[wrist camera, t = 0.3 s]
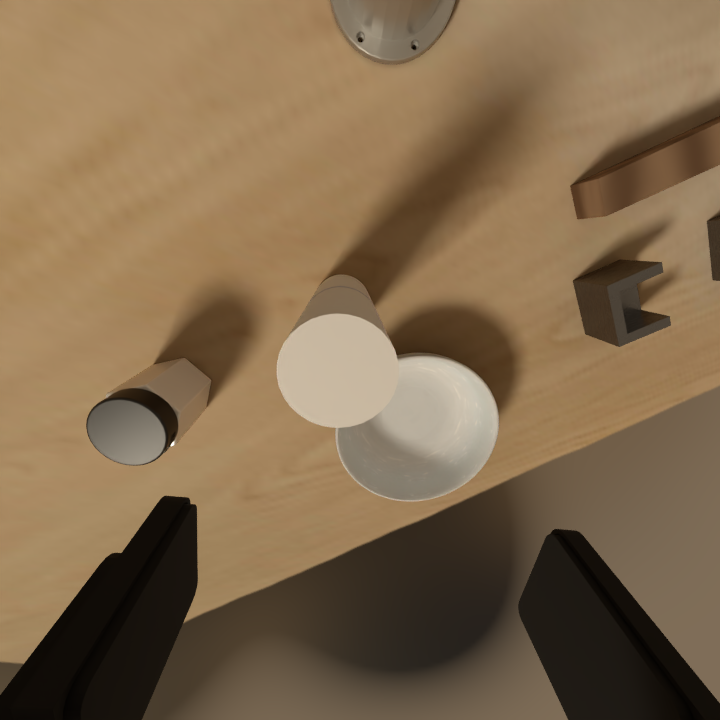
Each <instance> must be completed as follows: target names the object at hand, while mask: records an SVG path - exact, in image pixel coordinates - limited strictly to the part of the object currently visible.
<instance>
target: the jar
mask: <svg viewBox="0 0 720 720" xmlns="http://www.w3.org/2000/svg"><path fill="white" fill-rule="evenodd" d="M210 386H211V379H209V378H208V377H207V376H206V375H205V374H204V373H202V372H201V371H200V370H199V369H198V368H196V367H195V366H194V365H193V364H192V363H190V362H189V361H188V360H187V359H186V358H180V359H176V360H171V361H167V362H163V363H158V364H154V365H151V366H150V367H148V368H147V369H145V370H143V371H142V372H140V373H139V374H137V375H135V376H134V377H132V378H131V379H129V380H128V381H126V382H124V383H123V384H121V385H120V386H118V387H116V388H115V389H113V390H112V391H110V392H108V393H107V394H106V399H104V400H102V401H101V402H99V403H98V404H97V405H95V406H94V407H93V409H92V410H91V411H90V413H89V415H88V418H87V424H86V427H87V433H88V436H89V439H90V441H91V442H92V444H93V445H94V447H95V448H96V449H97V450H98V451H99V452H100V453H101V454H103V455H104V456H105V457H107V458H109V459H111V460H113V461H115V462H117V463H121V464H125V465H144V464H148V463H151V462H153V461H155V460H156V459H158V458H159V457H160V456H161V455H162V454H163V453H165V452H166V451H167V449H168V448H169V447H171V446H175V445H176V444H177V443H178V441H179V440H180V439H181V438H182V437H183V435H184V434H185V433H186V432H187V431H188V430H189V428H190V427H191V426H192V425H193V424H194V422H195V421H196V420H197V419H198V418H199V416H200V415H201V414H202V413H203V412H204V411H205V409H206V407H207V402H208V396H209V391H210Z"/></svg>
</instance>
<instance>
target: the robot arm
mask: <svg viewBox="0 0 720 720" xmlns="http://www.w3.org/2000/svg"><path fill="white" fill-rule="evenodd" d="M455 1H456V0H330V2H331V6H332V11H333V14H334V16H335V19H336V22H337V24H338V26H339V28H340V30H341V32H342V33H343V35H344V37H345V38H346V40H347V41H348V42H349V43H350V44H351V46H352V47H353V48H354V49H355V50H357V51H358V52H359V53H360V54H362V55H363V56H364V57H366V58H368V59H370V60H372V61H374V62H378V63H382V64H396V65H397V64H401V63H406V62H409V61H411V60H413V59H415V58H418V57H419V56H421V55H422V54H423V53H425V52H426V51H427V50H429V49H430V47H431V46H432V45H433V44H434V43H435V42H436V41H437V40H438V38H439V37H440V35H441V33H442V32H443V30H444V29H445V27H446V24H447V22H448V20H449V18H450V16H451V13H452V10H453V7H454V4H455ZM360 39H361V40H362V41H363V42H361V43H360V42H358V40H360ZM412 47H415V49H416V50H413V49H412ZM197 582H198V570H197V506H196V505H193V504H190V499H189V498H186V497H174V496H164V497H162V498H161V499H160V501H159V502H158V503H157V505H156V506H155V508H154V509H153V510H152V512H151V513H150V514H149V516H148V517H147V519H146V520H145V521H144V523H143V524H142V526H141V527H140V528H139V530H138V531H137V532H136V534H135V535H134V537H133V538H132V539H131V541H130V542H129V544H128V545H127V546H126V548H125V549H124V550H123V552H122V553H112V554H111V555H109V556H108V557H106V558H105V559H104V561H103V562H102V563H101V564H100V565H99V566H98V568H97V569H96V570H95V572H94V573H93V574H92V576H91V577H90V578H89V580H88V581H87V582H86V584H85V585H84V586H83V587H82V589H81V590H80V591H79V593H78V594H77V595H76V597H75V598H74V599H73V601H72V602H71V603H70V604H69V606H68V607H67V608H66V610H65V611H64V612H63V614H62V615H61V616H60V618H59V619H58V620H57V621H56V623H55V624H54V625H53V627H52V628H51V629H50V631H49V632H48V633H47V635H46V636H45V637H44V639H43V640H42V641H41V642H40V644H39V645H38V646H37V648H36V649H35V650H34V652H33V653H32V654H31V656H30V657H29V658H28V659H27V661H26V662H25V663H24V665H23V666H22V667H21V669H20V670H19V671H18V673H17V674H16V675H15V677H14V678H13V679H12V680H11V682H10V683H9V684H8V686H7V687H6V688H5V690H4V691H3V692H2V694H1V695H0V720H142V718H143V715H144V713H145V711H146V709H147V706H148V704H149V701H150V699H151V697H152V694H153V692H154V690H155V687H156V685H157V683H158V680H159V678H160V676H161V673H162V671H163V668H164V666H165V664H166V662H167V659H168V657H169V655H170V652H171V650H172V648H173V645H174V643H175V641H176V638H177V636H178V634H179V631H180V629H181V627H182V624H183V622H184V620H185V617H186V615H187V613H188V610H189V608H190V606H191V603H192V601H193V598H194V596H195V592H196V588H197ZM518 608H519V614H520V617H521V620H522V622H523V624H524V626H525V628H526V631H527V633H528V635H529V637H530V639H531V641H532V643H533V645H534V648H535V650H536V652H537V654H538V656H539V658H540V660H541V663H542V665H543V667H544V669H545V671H546V673H547V675H548V677H549V680H550V682H551V683H552V686H553V688H554V690H555V692H556V695H557V696H558V699H559V701H560V703H561V705H562V707H563V709H564V712H565V713H566V716H567V718H568V720H720V703H719V702H718V701H717V699H716V698H715V697H714V696H713V695H712V693H711V692H710V691H709V690H708V688H707V687H706V686H705V685H704V683H703V682H702V681H701V680H700V679H699V677H698V676H697V675H696V674H695V672H694V671H693V670H692V669H691V668H690V666H689V665H688V664H687V663H686V661H685V660H684V659H683V658H682V657H681V655H680V654H679V653H678V652H677V650H676V649H675V648H674V647H673V646H672V644H671V643H670V642H669V641H668V639H667V638H666V637H665V636H664V634H663V633H662V632H661V631H660V629H659V628H658V627H657V626H656V625H655V623H654V622H653V621H652V620H651V618H650V617H649V616H648V615H647V614H646V612H645V611H644V610H643V609H642V608H641V606H640V605H639V604H638V603H637V601H636V600H635V599H634V598H633V596H632V595H631V594H630V593H629V592H628V590H627V589H626V588H625V587H624V586H623V584H622V583H621V582H620V580H619V579H618V578H617V577H616V575H614V573H613V572H612V571H611V569H610V568H609V567H608V566H607V564H606V563H605V562H604V561H603V560H602V558H601V557H600V556H599V555H598V553H597V552H596V551H595V550H594V548H593V547H592V546H591V545H590V544H589V542H588V541H587V540H586V539H585V537H584V536H583V535H582V534H581V533H580V532H578V531H572V530H561V529H554V530H553V531H552V532H551V534H549V535H547V537H546V538H545V541H544V543H543V545H542V548H541V550H540V553H539V555H538V557H537V560H536V562H535V565H534V568H533V569H532V572H531V574H530V577H529V580H528V582H527V584H526V586H525V589H524V591H523V593H522V596H521V598H520V601H519V605H518Z"/></svg>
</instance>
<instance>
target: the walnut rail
mask: <svg viewBox="0 0 720 720" xmlns="http://www.w3.org/2000/svg"><path fill="white" fill-rule="evenodd" d="M718 165H720V116H719V117H717V118H715V119H713V120H711V121H708V122H706V123H704V124H702V125H700V126H698V127H696V128H693V129H691V130H689V131H687V132H685V133H683V134H681V135H678V136H676V137H674V138H672V139H670V140H668V141H666V142H664V143H661V144H659V145H657V146H655V147H653V148H651V149H649V150H646V151H644V152H642V153H640V154H638V155H636V156H634V157H631V158H629V159H627V160H625V161H623V162H621V163H619V164H616V165H614V166H612V167H610V168H608V169H606V170H604V171H601V172H599V173H597V174H595V175H593V176H591V177H589V178H586V179H584V180H582V181H580V182H578V183H576V184H574V185H571V186H570V187H571V192H572V197H573V201H574V206H575V211H576V215H577V219H585V218H594V217H603V216H607V215H610V214H612V213H614V212H616V211H618V210H621V209H623V208H625V207H627V206H630V205H632V204H634V203H636V202H638V201H641V200H643V199H645V198H647V197H649V196H652V195H654V194H656V193H658V192H660V191H663V190H665V189H667V188H669V187H671V186H674V185H676V184H678V183H680V182H682V181H685V180H687V179H689V178H691V177H693V176H696V175H698V174H700V173H702V172H704V171H707V170H709V169H711V168H713V167H715V166H718Z"/></svg>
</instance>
